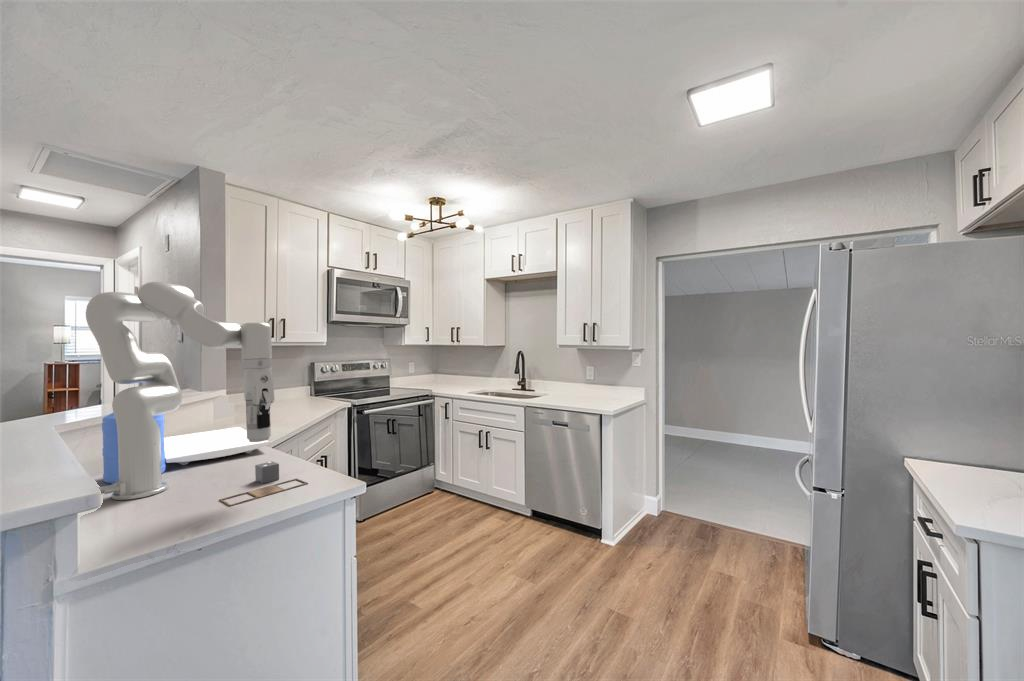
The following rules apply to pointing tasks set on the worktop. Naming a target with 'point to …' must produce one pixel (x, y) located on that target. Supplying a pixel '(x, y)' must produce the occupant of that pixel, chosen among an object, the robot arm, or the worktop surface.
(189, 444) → the board
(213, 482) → the worktop surface
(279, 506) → the worktop surface
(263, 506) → the worktop surface
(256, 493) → the board
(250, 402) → the energy drink can
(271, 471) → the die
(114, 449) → the water jug
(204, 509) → the worktop surface
